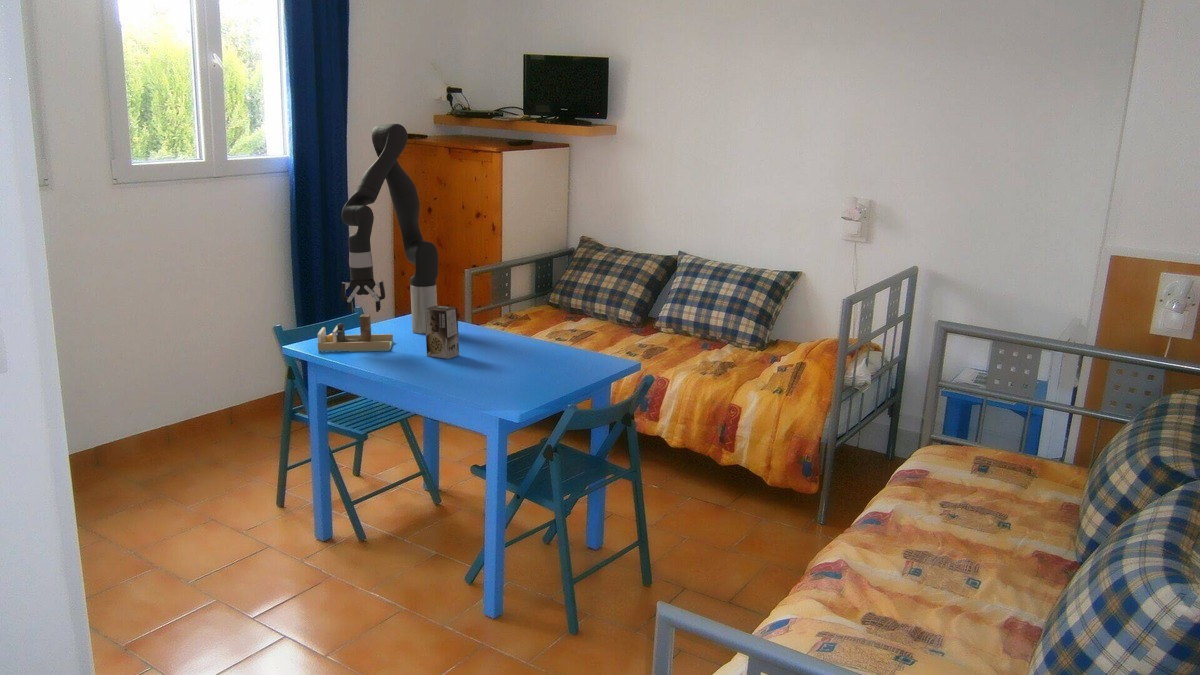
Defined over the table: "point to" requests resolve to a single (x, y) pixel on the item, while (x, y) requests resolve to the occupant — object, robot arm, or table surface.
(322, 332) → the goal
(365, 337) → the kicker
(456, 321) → the coffee box
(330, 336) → the ball
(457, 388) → the table surface
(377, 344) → the tan tray
